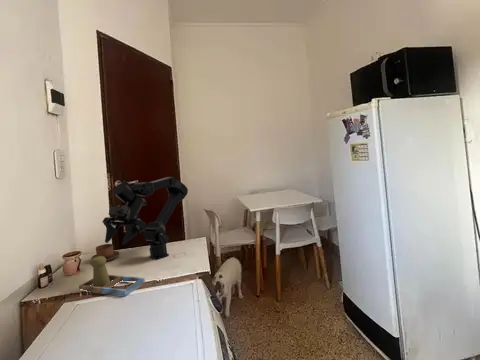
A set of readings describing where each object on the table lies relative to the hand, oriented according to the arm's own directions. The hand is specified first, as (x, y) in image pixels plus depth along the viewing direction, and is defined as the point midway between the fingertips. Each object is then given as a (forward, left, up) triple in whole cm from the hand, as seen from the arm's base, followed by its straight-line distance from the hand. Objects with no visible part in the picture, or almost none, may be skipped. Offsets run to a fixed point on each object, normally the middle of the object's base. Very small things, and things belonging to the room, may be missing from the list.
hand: (114, 243), depth 130 cm
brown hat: (-6, -27, -14) cm, 31 cm away
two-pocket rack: (+6, +7, -14) cm, 16 cm away
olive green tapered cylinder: (+8, +3, -14) cm, 16 cm away
